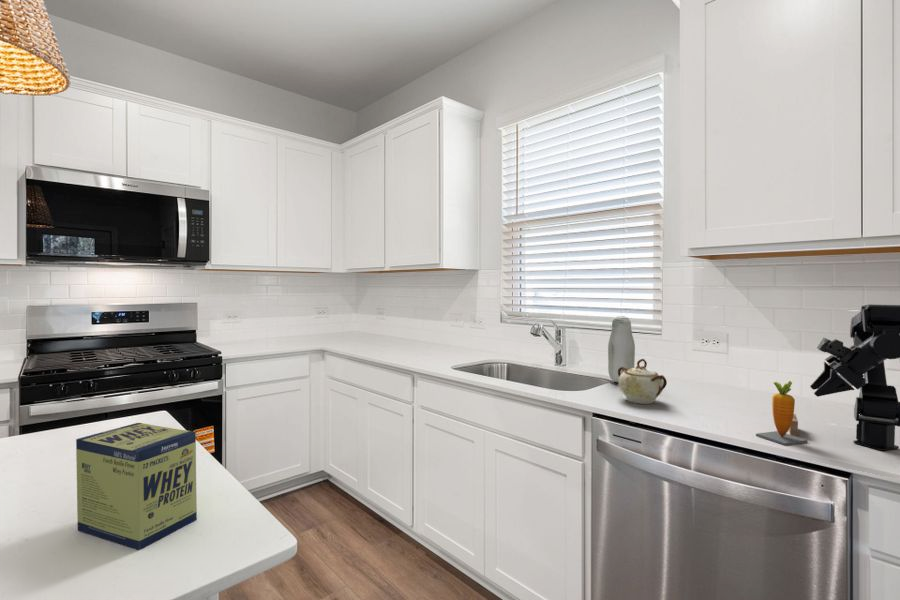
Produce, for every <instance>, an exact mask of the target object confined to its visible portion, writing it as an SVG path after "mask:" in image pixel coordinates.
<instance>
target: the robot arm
mask: <svg viewBox="0 0 900 600" xmlns="http://www.w3.org/2000/svg"><path fill="white" fill-rule="evenodd" d="M849 338H851V339H853V340H852V341H853V345H851V346H849V347H847V346H845V345H844V342H843V341H842V340H839V339H837V338H835V339H833V340H831V339H828V338H826V337H823V338H822V340H821V341H820V342H819V344H818V346H817V347H816V348H817V349H818V351H821V352H823V353H827V354H830V355H829V356H828V357H827V358H825V359H824V360H825V361H826V362H825V361H823V370H822V372H821V373H820V375H818V376H817V377H816V379H815V380H814V381H813V383H811V384H810V385H809V387H810V388H811V389H812V390H815V391H814V393H813V395H814V396H816V397H823V396H826V395H827V396H828V395H832V394H837V393H838V394H839V393H843V392H848V391H854V390H859V393H858V396H856V397H855V402H854V407H853V408H854V409H853V418H854V419H855V421H857V422H858V423H856V429H855V430H856V431H855V439H856V440H853V443H854V444H857V445H861V446H865V447H868V448H870V449H874V450H877V451H889V450H896V449H899V448H900V447H899V446H898V445H895V439H896V437H895V436H896V427H899V428H900V401H899V398H898V393H897V388H896V387H895V386H894V385H888V384H887V383H888V382H887V375H886V367H885V362H884V361H885V360H896V359H900V304H871V303H870V304H865V305H861V307H860V311H859V312H858V313H857V314H855V315H854V316H853V317H851V320H850V326H849Z"/></svg>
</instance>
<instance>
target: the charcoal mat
mask: <svg viewBox="0 0 900 600" xmlns="http://www.w3.org/2000/svg"><path fill="white" fill-rule="evenodd" d="M755 437H759V438H761V439H764V440H768V441H770V442H773V443H776V444H779V445H782V446H790V445H791V446H792V445H797V444H805V443H808V439H805V438H803V437H799V436H793V435H790V433H786V434H785V436H783V437H781V436H780V435H779V433H778V431H777V430H776V431H766V432H758V433H755Z"/></svg>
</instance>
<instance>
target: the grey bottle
mask: <svg viewBox="0 0 900 600" xmlns="http://www.w3.org/2000/svg"><path fill="white" fill-rule="evenodd" d="M632 331H633V330H632V322H631V320H630V318H629V317H628V316H625V315H620V316H615V317H614V318H613V319H612V321H611V330H610V335H609V339H608V344H607V349H608V350H607V365H608V366H607V367H608V368H607V370H608V375H609V377H610V379H611V380H612V381H613V382H614V383H617V384H619V383H618V380H619V375H618V369H619V368H620V367H624V368H627V369H632V368H635V357H636V354H635V353H636V352H635V351H636V345H635V344H636V343H635V340H634V335H633V332H632ZM622 371H623V370H621V371H620V374H621V372H622Z"/></svg>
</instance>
